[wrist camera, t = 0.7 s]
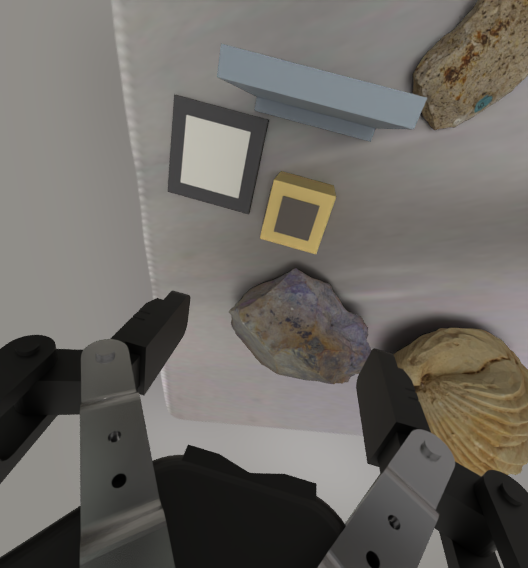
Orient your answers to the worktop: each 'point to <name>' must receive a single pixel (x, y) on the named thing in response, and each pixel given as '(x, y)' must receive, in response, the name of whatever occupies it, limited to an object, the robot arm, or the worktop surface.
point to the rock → (474, 63)
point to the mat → (215, 153)
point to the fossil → (472, 396)
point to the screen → (318, 95)
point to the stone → (301, 329)
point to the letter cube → (297, 212)
